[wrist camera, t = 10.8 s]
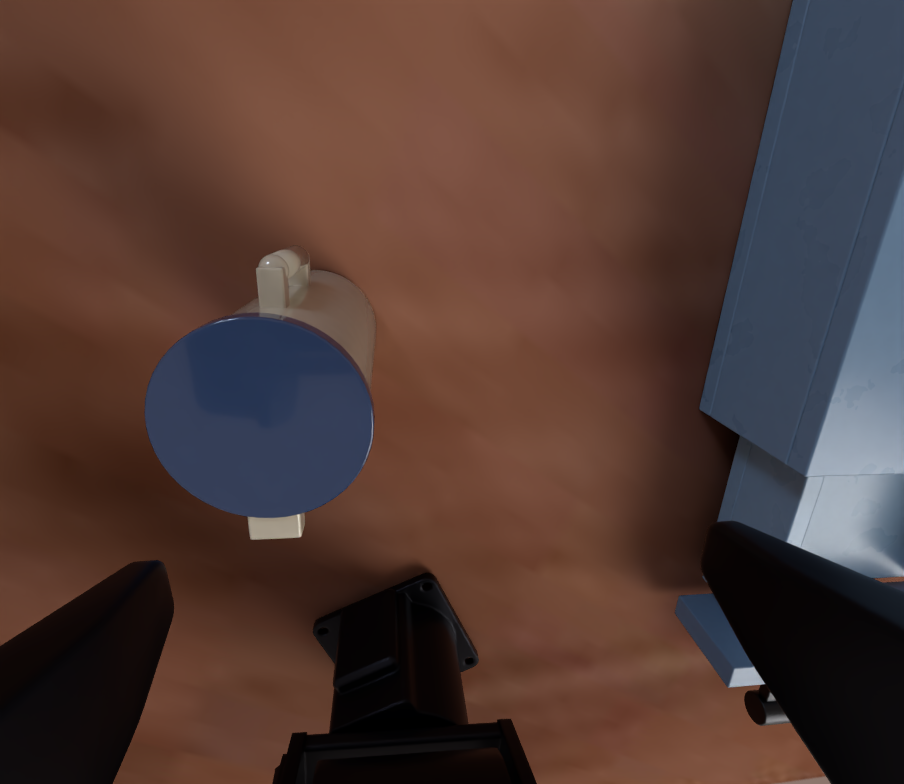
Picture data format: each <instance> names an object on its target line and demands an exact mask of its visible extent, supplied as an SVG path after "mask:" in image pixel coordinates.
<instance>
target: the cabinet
mask: <svg viewBox="0 0 904 784" xmlns="http://www.w3.org/2000/svg"><path fill="white" fill-rule="evenodd" d="M699 409H700V410H701V411H703V412H704V413H706V414H707V415H709V416H711V417H712V418H714V419H715V420H717V421H718V422H720V423H721V424H723V425H724V426H726V427H728V428H729V429H731V430H732V431H734V432H735V433H737V434H739V435H740V436H742V437H743V438H745V439H746V440H748V441H749V442H751V443H753V444H754V445H756V446H757V447H759V448H760V449H762V450H764V451H765V452H767V453H768V454H770V455H771V456H773V457H774V458H776V459H778V460H779V461H781V462H782V463H784V464H786V465H787V466H788V467H790V468H792V469H793V470H795V471H796V472H798V473H799V474H801V475H803V476H804V477H816V476H849V475H881V474H904V0H793V2H792V6H791V11H790V15H789V19H788V24H787V28H786V32H785V37H784V41H783V45H782V50H781V54H780V59H779V63H778V67H777V72H776V76H775V80H774V85H773V89H772V93H771V98H770V102H769V106H768V111H767V115H766V120H765V124H764V128H763V133H762V137H761V141H760V146H759V150H758V154H757V159H756V163H755V167H754V172H753V176H752V180H751V185H750V189H749V194H748V198H747V202H746V207H745V211H744V215H743V220H742V224H741V228H740V233H739V237H738V241H737V246H736V250H735V255H734V259H733V263H732V268H731V272H730V276H729V281H728V285H727V289H726V294H725V298H724V302H723V307H722V311H721V315H720V320H719V324H718V329H717V333H716V337H715V342H714V346H713V350H712V355H711V359H710V363H709V368H708V372H707V376H706V381H705V385H704V389H703V394H702V398H701V403H700V407H699Z"/></svg>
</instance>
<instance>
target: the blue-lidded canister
mask: <svg viewBox="0 0 904 784" xmlns="http://www.w3.org/2000/svg"><path fill="white" fill-rule="evenodd" d="M256 277H257V287H258V297H256V298H255V299H253V300H252V301H251V302H249V303H248V304H246V305H245V306H243V307H242V308H240V309H239V310H237V311H236V312H234V313H233V314H231V315H229V316H225V317H222V318H218V319H215V320H212V321H210V322H208V323H206V324H204V325H202V326H200V327H198V328H196V329H195V330H193V331H192V332H190V333H189V334H187V335H186V336H184V337H183V338H181V339H180V340H178V341H177V342H176V343H175V344H174V345H173V346H172V347H171V348H170V349H169V350H168V351H167V352H166V353H165V355H164V356H163V357H162V358H161V360H160V361H159V363H158V364H157V366H156V368H155V370H154V371H153V373H152V376H151V379H150V381H149V384H148V387H147V392H146V397H145V422H146V429H147V432H148V436H149V440H150V442H151V445H152V447H153V449H154V452H155V454H156V455H157V457H158V459H159V460H160V462H161V464H162V465H163V467H164V468H165V469H166V470H167V472H168V473H169V474H170V475H171V477H172V478H173V479H174V480H175V481H176V482H177V483H178V484H179V485H180V486H182V487H183V488H184V489H185V490H187V491H188V492H189V493H191V494H192V495H193V496H195V497H197V498H198V499H200V500H202V501H203V502H205V503H207V504H209V505H211V506H213V507H215V508H218V509H221V510H223V511H226V512H229V513H233V514H237V515H241V516H247V518H248V526H249V535H250V539H252V540H257V539H281V538H299V537H301V536H302V533H303V529H304V525H305V515H304V513H305V512H308V511H311V510H313V509H315V508H318V507H320V506H322V505H324V504H326V503H327V502H329V501H331V500H332V499H334V498H335V497H337V496H338V495H339V494H340V493H342V492H343V491H344V490H345V489H346V488H347V487H348V486H349V485H350V484H351V483H352V482H353V481H354V480H355V478H356V477H357V475H358V474H359V473H360V471H361V470H362V468H363V466H364V464H365V462H366V460H367V458H368V455H369V452H370V449H371V446H372V441H373V436H374V419H375V415H374V404H373V399H372V395H371V382H372V371H373V360H374V349H375V338H376V321H375V316H374V312H373V310H372V307H371V305H370V303H369V301H368V299H367V298H366V296H365V295H364V294H363V292H362V291H361V290H360V289H359V288H358V287H357V286H356V285H355V284H353V283H352V282H351V281H349V280H348V279H346V278H344V277H342V276H340V275H338V274H335V273H332V272H328V271H322V270H310V257H309V254H308V252H307V251H306V249H304V248H303V247H301V246H298V245H293V246H290V247H288V248H285V249H282V250H280V251H277V252H275V253H272V254H269V255H267V256H265V257H263V258H262V259H261V260H260V262H259V265H258V268H256Z"/></svg>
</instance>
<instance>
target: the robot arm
mask: <svg viewBox="0 0 904 784" xmlns="http://www.w3.org/2000/svg"><path fill="white" fill-rule="evenodd" d="M700 562H701V570H702V573H703V576H704V578H705V580H706V581H707V583H708V585H709V587H710V589H711V591H712V592H713V594H714V596H715V598H716V600H717V602H718V604H719V605H720V607H721V609H722V611H723V613H724V615H725V617H726V618H727V620H728V622H729V624H730V626H731V628H732V629H733V631H734V633H735V635H736V637H737V639H738V641H739V642H740V644H741V646H742V648H743V649H744V651H745V653H746V655H747V656H748V658H749V660H750V661H751V663H752V665H753V666H754V668H755V669H756V671H757V672H758V674H759V676H760V677H761V679H762V680H763V682H764V683H765V685H766V686H767V688H768V689H769V691H770V692H771V694H772V695H773V697H774V698H775V700H776V701H777V703H778V704H779V706H780V707H781V709H782V710H783V712H784V713H785V715H786V716H787V718H788V719H789V721H790V722H791V724H792V725H793V727H794V729H795V730H796V732H797V733H798V735H799V736H800V738H801V739H802V741H803V742H804V744H805V745H806V747H807V748H808V750H809V751H810V753H811V754H812V756H813V757H814V759H815V760H816V762H817V763H818V765H819V766H820V768H821V769H822V771H823V772H824V774H825V775H826V777H827V778H828V780H829V781H830V783H831V784H904V592H903V591H901V590H899V589H896V588H894V587H891V586H889V585H887V584H884V583H882V582H880V581H877V580H875V579H873V578H870V577H868V576H865V575H863V574H861V573H858V572H856V571H854V570H851V569H849V568H847V567H844V566H842V565H839V564H837V563H835V562H832V561H830V560H828V559H825V558H823V557H820V556H818V555H816V554H813V553H811V552H809V551H806V550H804V549H802V548H799V547H797V546H794V545H792V544H790V543H787V542H785V541H783V540H780V539H778V538H776V537H773V536H771V535H768V534H766V533H764V532H761V531H759V530H757V529H754V528H752V527H749V526H747V525H745V524H742V523H740V522H737V521H719V522H713V523H711V524H710V526H709V527H708V529H707V533H706V538H705V542H704V547H703V551H702V555H701V561H700ZM425 583H430V584H429V585H426V586H425V585H423V584H425ZM173 613H174V601H173V597H172V592H171V588H170V584H169V579H168V575H167V571H166V568H165V565H164V564H163V563H162V562H161V561H159V560H154V561H139V562H133V563H130V564H128V565H127V566H125V567H123V568H122V569H120V570H119V571H117V572H116V573H114V574H112V575H111V576H109V577H108V578H106V579H105V580H103V581H102V582H100V583H98V584H97V585H95V586H94V587H92V588H91V589H89V590H87V591H86V592H84V593H83V594H81V595H80V596H78V597H76V598H75V599H73V600H72V601H70V602H69V603H67V604H66V605H64V606H62V607H61V608H59V609H58V610H56V611H55V612H53V613H51V614H50V615H48V616H47V617H45V618H44V619H42V620H40V621H39V622H37V623H36V624H34V625H33V626H31V627H29V628H28V629H26V630H25V631H23V632H22V633H20V634H18V635H17V636H15V637H14V638H12V639H11V640H9V641H8V642H6V643H4V644H3V645H1V646H0V784H113V781H114V779H115V777H116V775H117V772H118V770H119V768H120V765H121V763H122V761H123V758H124V756H125V754H126V752H127V749H128V747H129V745H130V742H131V740H132V738H133V735H134V733H135V730H136V728H137V725H138V723H139V720H140V717H141V714H142V712H143V709H144V706H145V703H146V700H147V697H148V693H149V690H150V687H151V684H152V681H153V678H154V675H155V672H156V669H157V665H158V662H159V659H160V656H161V653H162V650H163V647H164V644H165V641H166V637H167V634H168V631H169V628H170V625H171V622H172V618H173ZM323 627H325V628H327V629H322V628H323ZM313 634H314V636H315V637H316V639H317V640H318V641H319V643H320V644H321V646H322V647H323V648H324V650H325V651H326V652H327V654H328V655H329V657H330V658H331V659H332V661H333V662H334V663H335V669H334V678H333V686H334V694H333V703H332V712H331V721H330V730H329V733H328V734H313V735H307V732H301V733H292V736H291V740H290V744H289V748H288V752H287V754H283V756H282V760H281V763H280V765H279V766H278V767H277V768H275V774H274V779H273V784H537V783H536V781H535V778H534V776H533V773H532V771H531V768H530V766H529V763H528V761H527V758H526V755H525V753H524V750H523V748H522V745H521V743H520V740H519V738H518V735H517V733H516V730H515V728H514V725H513V723H512V720H511V719H499V720H497V722H493V723H478V724H468V718H467V711H466V705H465V699H464V692H463V686H462V680H461V674H460V672H463V671H465V670H467V669H470V668H472V667H474V666H476V665H477V663H478V661H479V659H478V654H477V651H476V649H475V647H474V645H473V643H472V642H471V640H470V638H469V636H468V634H467V633H466V631H465V629H464V627H463V625H462V624H461V622H460V620H459V618H458V616H457V615H456V613H455V611H454V609H453V607H452V606H451V604H450V602H449V600H448V598H447V597H446V595H445V593H444V591H443V590H442V588H441V586H440V584H439V582H438V581H437V579H436V577H435V576H434V575H433V574H430V573H425V574H421V575H419V576H417V577H414V578H412V579H410V580H407V581H405V582H403V583H400V584H398V585H396V586H393V587H391V588H389V589H386V590H384V591H382V592H379V593H377V594H375V595H372V596H370V597H368V598H365V599H363V600H361V601H358V602H356V603H354V604H351V605H349V606H347V607H344V608H342V609H339V610H337V611H335V612H332V613H330V614H328V615H325V616H323V617H321V618H319V619H317V620H316V621H315V623H314V628H313ZM469 657H470V658H469Z"/></svg>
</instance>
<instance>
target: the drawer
mask: <svg viewBox="0 0 904 784" xmlns="http://www.w3.org/2000/svg"><path fill="white" fill-rule="evenodd" d="M719 521H737V522H740V523H742V524H745V525H747V526H749V527H752V528H754V529H757V530H759V531H761V532H764V533H766V534H768V535H771V536H773V537H776V538H778V539H780V540H783V541H785V542H787V543H790V544H792V545H794V546H797V547H799V548H802V549H804V550H806V551H809V552H811V553H813V554H816V555H818V556H820V557H823V558H825V559H828V560H830V561H832V562H835V563H837V564H839V565H842V566H844V567H847V568H849V569H851V570H854V571H856V572H858V573H861V574H863V575H865V576H868V577H870V578H885V577H901V576H904V474H881V475H849V476H816V477H804V476H803V475H801V474H799V473H798V472H796V471H795V470H793V469H792V468H790V467H788V466H787V465H786V464H784V463H782V462H781V461H779V460H778V459H776V458H774V457H773V456H771V455H770V454H768V453H767V452H765V451H764V450H762V449H760V448H759V447H757V446H756V445H754V444H753V443H751V442H749V441H748V440H746V439H745V438H743V437H742V436H740V437H739V441H738V445H737V449H736V452H735V456H734V460H733V464H732V467H731V471H730V475H729V479H728V482H727V486H726V490H725V494H724V497H723V501H722V505H721V509H720V513H719V516H718V520H717V522H719ZM702 577H703V579H704V580H705V578H704V576H702ZM705 581H706V580H705ZM706 582H707V581H706ZM884 584H887V585H889V586H891V587H894V588H896V589H899V590H901V591H903V592H904V581H902V582H886V583H884ZM675 614H676V616H677V617H678V619H679V620H680V621H681V623H682V624H683V626H684V627H685V628H686V630H687V631H688V633H689V634H690V635H691V637H692V638H693V640H694V641H695V642H696V644H697V645H698V647H699V648H700V649H701V651H702V652H703V654H704V655H705V656H706V658H707V659H708V661H709V662H710V663H711V665H712V666H713V668H714V669H715V670H716V672H717V673H718V675H719V676H720V677H721V679H722V680H723V682H724V683H725V684H726V686H727V687H740V686H751V685H760V688H759V690H752V691H747V692H746V694H745V697H744V701H745V706H746V709H747V712H748V714H749V716H750V717H751V719H752V720H753V721H754V722H755V723H756V724H758V725H761V726H763V725H773V724H783V723H791V722H790V721H789V719H788V718H787V716H786V715H785V713H784V712H783V710H782V709H781V707H780V706H779V704H778V703H777V701H776V700H775V698H774V697H773V695H772V694H771V692H770V691H769V689H768V688H767V686H766V685H765V683H764V682H763V680H762V679H761V677H760V676H759V674H758V672H757V671H756V669H755V668H754V666H753V665H752V663H751V661H750V660H749V658H748V656H747V655H746V653H745V651H744V649H743V648H742V646H741V644H740V642H739V641H738V639H737V637H736V635H735V633H734V631H733V629H732V628H731V626H730V624H729V622H728V620H727V618H726V617H725V615H724V613H723V611H722V609H721V607H720V605H719V604H718V602H717V600H716V598H715V596H714V594H713V593H712V594H696V595H681V596H679V598H678V602H677V606H676V610H675Z"/></svg>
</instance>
